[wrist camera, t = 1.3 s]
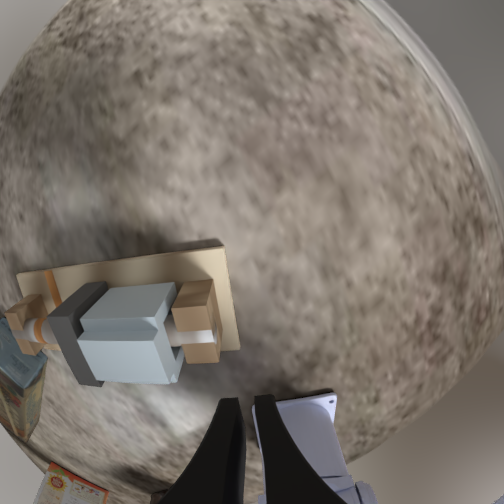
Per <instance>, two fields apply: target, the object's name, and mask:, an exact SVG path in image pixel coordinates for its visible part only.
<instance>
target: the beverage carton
mask: <svg viewBox="0 0 504 504" xmlns="http://www.w3.org/2000/svg"><path fill="white" fill-rule="evenodd" d="M47 359H48V358H47V356H46V355H45V354H43V353H42V352H41V351H39V352H38V354H37V355H36V356H34V355H28V354H23V353H22V351H21V349H20V347H19V345H18V343H17V341H16V339H15V337H14V336H13V334H12V331H11V328H10V326H9V323H8V321H7V319H6V318H5V317H3V318H1V319H0V423H2V424H3V426H4V427H5V428H7V429H8V430H9V431H11V432H12V433H13V434H14V435H16V436H17V437H18V438H19V439H20V440H22V441H23V442H24V443H26V442H27V441H28V440H29V438H30V436H31V434H32V432H33V431H34V429H35V427H36V425H37V423H38V421H39V417H40V409H41V400H42V392H43V385H44V379H45V370H46V364H47Z"/></svg>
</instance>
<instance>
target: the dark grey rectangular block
mask: <svg viewBox="0 0 504 504" xmlns="http://www.w3.org/2000/svg"><path fill="white" fill-rule="evenodd" d="M107 291H108V287H107V283H106V281H103V282H93V283H85V284H84V285H83V286H81V287H80V288H79V289H78V290H77V291H75V292H74V293H73V294H72V295H71V296H69V297H68V298H67V299H66V300H65V301H64V302H62V303H61V304H60V305H59V306H58V307H57V308H55V309H54V310H53V311H52V312H51V313H50V314H49V315H48V316H46V317H47V320H48V322H49V324H50V327H51V329H52V331H53V334H54V336H55V338H56V340H57V342H58V345H59V347H60V349H61V351H62V353H63V355H64V357H65V359H66V361H67V363H68V365H69V366H70V368H71V370H72V372H73V374H74V376H75V377H76V379H77V381H78V383H79V384H81V385H88V386H96V387H102V385H103V383H104V382H105V381H100V380H96V378H95V376H94V375H93V373H92V371H91V369H90V367H89V365H88V363H87V361H86V359H85V357H84V355H83V353H82V350H81V348H80V346H79V344H78V342H77V339H78V338H79V337H80V336H81V335H82V333H83V332H84V329H83V327H82V324H81V322H80V318H81V317H82V316H83V315H84V314H85V313H86V312H87V311H88V310H89V309H90V308H91V307H92V306H93V305H94V304H95V303H96V302H97V301H98V300H99V299H100V298H101V297H102V296H103V295H104V294H105V293H106V292H107Z"/></svg>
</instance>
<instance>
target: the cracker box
mask: <svg viewBox="0 0 504 504" xmlns="http://www.w3.org/2000/svg"><path fill="white" fill-rule="evenodd" d="M108 494H109V491H107V490H104V489H102V488H100V487H98V486H96V485H93V484H91V483H89V482H87V481H85V480H83V479H81V478H79V477H78V476H76V475H74V474H72V473H70V472H69V471H67V470H65V469H63V468H62V467H60V466H58V465H57V464H55V463H53V462H51V464H50V466H49V468H48V470H47V472H46V474H45V477H44V479H43V481H42V484H41V486H40V488H39V490H38V493H37V495H36V498H35V500H34V503H33V504H106V501H107V497H108Z"/></svg>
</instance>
